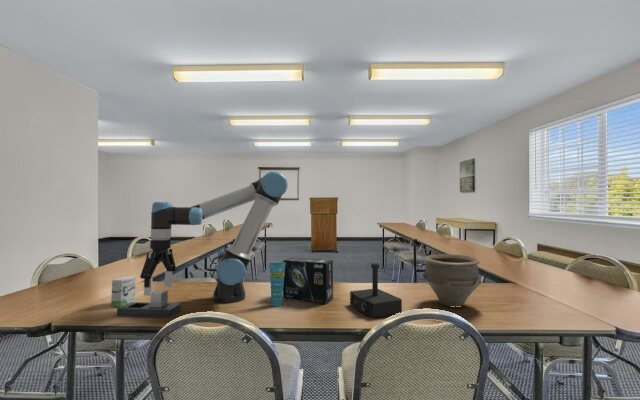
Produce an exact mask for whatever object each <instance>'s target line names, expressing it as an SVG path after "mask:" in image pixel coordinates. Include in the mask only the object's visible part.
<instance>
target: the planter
mask: <svg viewBox="0 0 640 400" xmlns="http://www.w3.org/2000/svg"><path fill="white" fill-rule="evenodd" d="M424 260H425V261H426V265H425V271H424V272H423V273H422V278H423V279H424V280H425V281H426V283H427V284H428V285H429V286H430V288H431V289H432V291H433V292H434V294H435V296H436V297H437V299H438V300H439V301H440V303H441V305H442V306H444V305H446V306H445V307H447V306H455V307H456V306H462V305H463V306H464V304H466V301H467V300H468V298H469V297H470V296H471V295H472V294H473V293H474V292H475V290H476V289H477V288H478V287H479V286H480V285H481V284H483V282H482V276H481V275H480V272H479V268H478V264H480V260H479V259H477V258H475V257H472V256H470V255H465V254H464V255H463V254H449V253H440V254H430V255H427V256H425V257H424ZM463 306H462V307H463Z"/></svg>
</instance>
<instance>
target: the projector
mask: <svg viewBox="0 0 640 400" xmlns="http://www.w3.org/2000/svg"><path fill="white" fill-rule="evenodd" d="M370 268H372V269H371V270H372V273H371V274H372V275H371V276H372V280H371V282H372V284H371V287H372V288H368V289H359V290H351V291H349V304H350V305H351V306H352V305H353V308H354V309H356V310H357V311H359V312H361V313H363V314H364V315H366V316H369V317H371V318H373V319H377V317H378V318H382V317H390V316H394V315H393V314H396V313H399V312H402V313H403V304H402V303H403V300H402V299H401V298H400V297H397V296H395V295H393V294H390V293H389V292H386V291H384V290H381V289H379V288H378V287H379V281H378V280H379V274H378V273H379V270H378V269H380V263H378V262H372V263H370ZM396 315H397V314H396Z"/></svg>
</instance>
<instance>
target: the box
mask: <svg viewBox="0 0 640 400" xmlns="http://www.w3.org/2000/svg"><path fill="white" fill-rule="evenodd" d="M282 262H286V265H285V272H284V283H283V298H282V299H284V298H285V299H284V300H290V299H291V301H300V302H301V301H302V302H306V303H307V302H309V303H316V304H324V305H327V304H329V302H330V301H332V299H334V261H333V259H324V258H321V259H320V258H304V257H290V258H287V259H283V260H282Z"/></svg>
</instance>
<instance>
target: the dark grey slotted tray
mask: <svg viewBox="0 0 640 400" xmlns="http://www.w3.org/2000/svg"><path fill="white" fill-rule="evenodd" d="M181 308H182V306H181V303H173V302H171V303H170V302H168V305H167V306H166V307H164V308H162V309H152V308H150V302H142V301H141V302H138V301H137V302H136V301H135V302H130V303H128V304H126V305H124V306H121V307H116V316H117V317H136V318H137V317H138V318H139V317H140V318H141V317H143V318H145V317H146V318H168V319H169V318H171V317H173V316H174V315H176V314H178V313H179V312H181Z"/></svg>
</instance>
